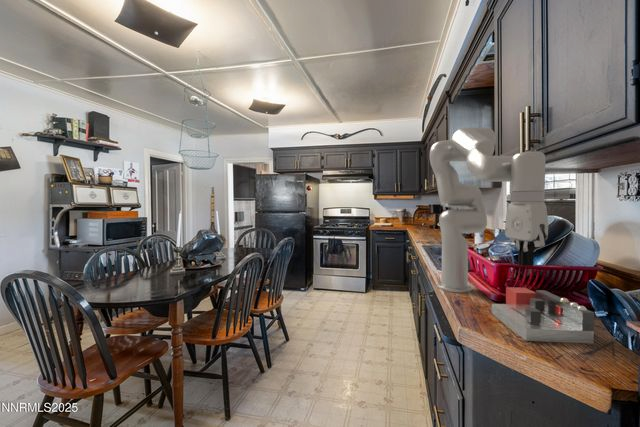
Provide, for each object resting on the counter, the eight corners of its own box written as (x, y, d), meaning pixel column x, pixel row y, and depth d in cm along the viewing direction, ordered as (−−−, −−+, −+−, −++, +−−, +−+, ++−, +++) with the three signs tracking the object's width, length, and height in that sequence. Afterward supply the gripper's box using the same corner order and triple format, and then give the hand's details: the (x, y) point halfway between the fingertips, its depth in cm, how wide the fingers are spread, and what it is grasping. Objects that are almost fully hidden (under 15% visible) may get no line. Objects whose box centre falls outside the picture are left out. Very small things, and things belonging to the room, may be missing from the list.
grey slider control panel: (491, 313, 89) (491, 286, 89) (544, 315, 88) (544, 287, 87) (526, 340, 71) (526, 307, 71) (593, 343, 70) (594, 308, 69)
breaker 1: (530, 308, 84) (530, 298, 84) (539, 308, 84) (539, 298, 84) (535, 311, 82) (535, 300, 82) (544, 311, 82) (544, 301, 82)
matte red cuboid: (505, 305, 96) (506, 287, 96) (525, 305, 96) (525, 287, 95) (515, 311, 90) (516, 292, 90) (536, 312, 90) (537, 293, 89)
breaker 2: (525, 319, 77) (525, 308, 76) (535, 319, 76) (535, 308, 76) (530, 323, 74) (530, 311, 74) (540, 323, 74) (541, 311, 74)
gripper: (495, 198, 86) (494, 260, 87) (537, 198, 71) (535, 272, 72) (518, 198, 87) (517, 259, 87) (565, 198, 72) (563, 271, 73)
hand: (525, 265), depth 80 cm, fingers closed
